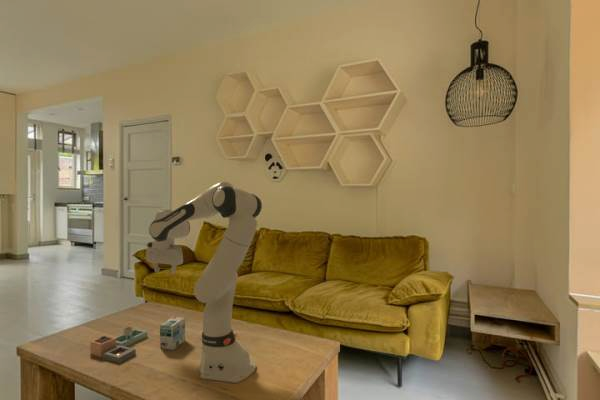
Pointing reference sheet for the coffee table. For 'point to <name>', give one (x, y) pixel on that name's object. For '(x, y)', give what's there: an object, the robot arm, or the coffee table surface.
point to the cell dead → (103, 339)
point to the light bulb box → (172, 333)
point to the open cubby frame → (101, 346)
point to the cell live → (127, 333)
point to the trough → (136, 337)
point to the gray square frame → (121, 357)
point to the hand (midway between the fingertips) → (164, 272)
